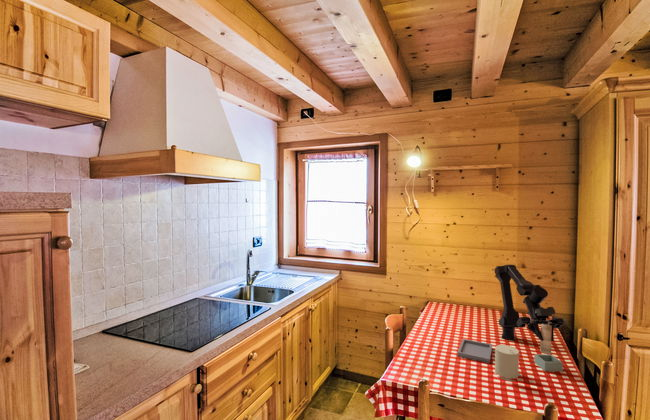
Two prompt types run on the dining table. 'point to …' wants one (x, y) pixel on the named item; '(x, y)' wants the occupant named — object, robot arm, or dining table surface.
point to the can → (506, 362)
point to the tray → (475, 350)
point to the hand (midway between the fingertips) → (547, 340)
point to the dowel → (546, 338)
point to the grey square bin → (548, 362)
